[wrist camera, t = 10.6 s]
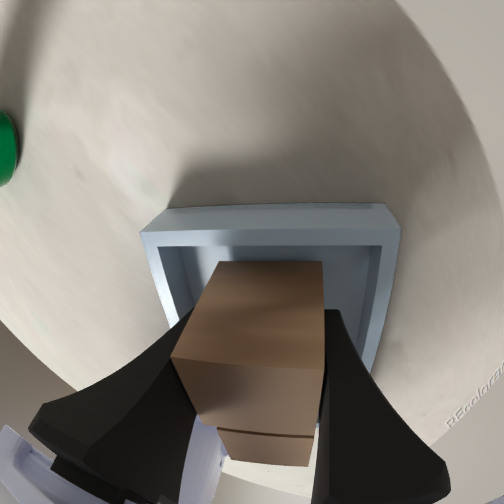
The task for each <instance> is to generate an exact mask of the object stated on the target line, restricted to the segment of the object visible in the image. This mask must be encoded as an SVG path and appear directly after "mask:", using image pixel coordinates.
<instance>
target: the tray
mask: <svg viewBox="0 0 504 504" xmlns="http://www.w3.org/2000/svg"><path fill="white" fill-rule="evenodd" d="M140 235H141V239H142V242H143V246H144V249H145V253H146V256H147V260H148V263H149V266H150V269H151V273H152V276H153V279H154V282H155V285H156V288H157V291H158V294H159V297H160V300H161V303H162V306H163V309H164V311H165V314H166V317H167V320H168V323H169V325H170V328H172V327H173V326H174V325H175V324H176V323H177V322H178V321H179V320H181V319H182V318H183V317H184V316H185V315H186V314H187V313H188V312H189V311H190V310H191V309H192V308H193V307H194V306H196V304H197V302H198V300H199V298H200V297H201V295H202V293H203V291H204V289H205V287H206V285H207V283H208V281H209V279H210V277H211V275H212V273H213V271H214V270H215V268H216V266H217V264H218V262H219V261H322V266H323V289H324V309H338V310H339V311H340V312H341V315H342V318H343V321H344V324H345V326H346V329H347V331H348V333H349V336H350V338H351V340H352V342H353V344H354V346H355V348H356V350H357V352H358V354H359V356H360V358H361V360H362V361H363V363H364V365H365V367H366V368H367V370H368V372H369V374H370V372H371V369H372V365H373V362H374V359H375V355H376V352H377V348H378V345H379V341H380V337H381V333H382V329H383V325H384V321H385V317H386V313H387V308H388V304H389V299H390V295H391V290H392V285H393V279H394V274H395V268H396V262H397V256H398V250H399V243H400V236H401V227H400V226H399V224H398V222H397V221H396V219H395V218H394V216H393V215H392V213H391V212H390V210H389V209H388V207H387V206H386V204H383V203H284V204H249V205H224V206H204V207H187V208H172V209H165V210H164V211H163V212H162V213H161V214H159V215H158V216H157V217H156V218H155V219H154V220H153V221H151V222H150V223H149V224H148V225H147V226H146V227H145V228H144V229H143V230H141V231H140ZM316 427H319V410H318V417H317V422H316Z"/></svg>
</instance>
